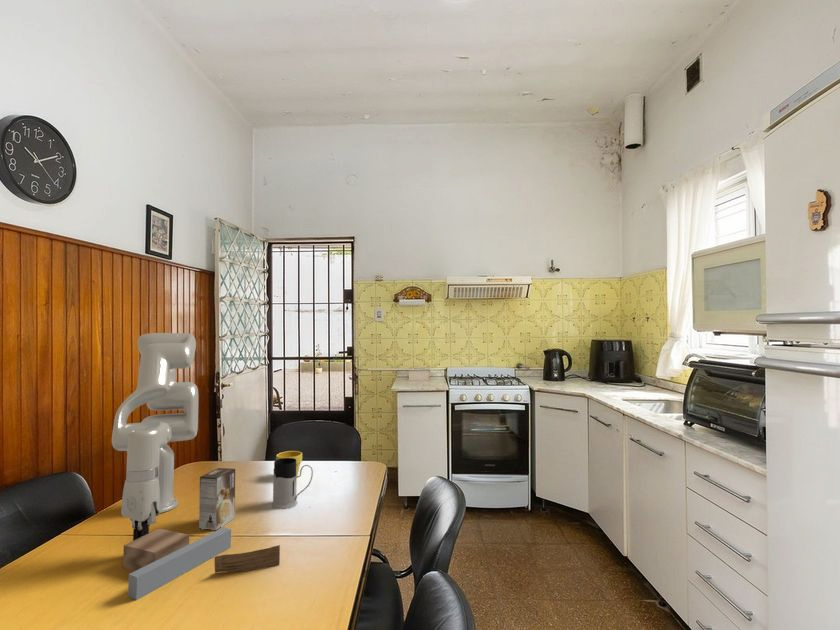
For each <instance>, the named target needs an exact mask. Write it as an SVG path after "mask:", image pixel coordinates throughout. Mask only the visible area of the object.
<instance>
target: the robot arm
mask: <svg viewBox="0 0 840 630" xmlns="http://www.w3.org/2000/svg"><path fill="white" fill-rule="evenodd" d="M137 349H138V351H139V354H140V359H139V368H138V375H137V385H136V389H135V390H134V391H132V393H131V394H130V395H129V396H127V397H126V398H125V399H124V400H123V402H121V404H120V406H119V407H118V409H117V410H116V413H115V416H114V420H113V427H112V435H111V445H112V447H113V449H114V450H115V451H119V452H126V473H125V474H126V475H125V476H126V477H125V478H126V479H125V481H124V485H123V489H122V499H121V507H120V509H121V510H120V511H121V516H123V517H124V518H127V519H129V520H130V521H131V528H132V529H133V531H132V541H134V540H136V539H138V538H140V537H142V536H144V535H146V534H149V533H150V527H151V526H152V525H153V524H155V523H157V517H158V516H159V515H160V514H163V513H165V512H168V511H171V510H173V509H175V508H176V507H177V506H178V505H179V504H178V503H179V500H178V498H175V497H174V480H175V479H174V474H175V473H174V471H175V453H174V450H173V449H172V448H171V447H170V445H168V443H172V442H174V443H175V442H183V441H190V440H193V439H195V438H196V437H197V434H198V431H199V389H198V385H196V384H195V383H194V382H192V381H191V382H190V381H182V382H180V381H179V382H177V381H176V370H179V369H181V370H183V369H189V368H191V366H192V365H193V362H194V359H195V355H196V354H195V353H196V349H197V340H196V338H195V336H194V334H192V333H186V332H177V333H176V332H152V333H144V334H142V335H140V336H139V337H138V339H137ZM145 404H146V407H147V408H148V410H150V411H177V410H182V411H183V412H181V413H164V414H153V415H150V416H149V415H148V416H147V417H145V418H144V419H143V420H142V421H141V422H132V423H127V422H128V418H129V416H130V415H131V413H132V412H133V411H135V410H136V409H137V408H139V407H141V406H142V405H145Z"/></svg>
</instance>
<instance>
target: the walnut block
mask: <svg viewBox="0 0 840 630" xmlns="http://www.w3.org/2000/svg"><path fill="white" fill-rule="evenodd" d="M189 544H190V534H186V533H182V532H179V531H173V530H169V529H165V528H164V529H163V528H160V527H159V528H157V529H155V530H153V531H151V532H149V534H146V535H144V536H142V537H140V538H138V539H136V540H134V541H133V540H132V541H130V542H128V543H126V544H123V559H122V561H123V562H122V564H123V565H122V568H123V569H125V570H128V571H132V572H134V571H136V570H138V569H140V568H142V567H144V566H146V565H148V564H150V563H152V562H154V561H156V560H158V559H160V558H162V557H165V556H167V555H169V554H171V553H173V552H175V551H177V550H179V549H181V548H183V547H185V546H187V545H189Z"/></svg>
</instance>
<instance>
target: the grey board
mask: <svg viewBox="0 0 840 630" xmlns="http://www.w3.org/2000/svg"><path fill="white" fill-rule="evenodd" d="M230 547H231V548H232V529H231V528H228V527H225V526H222V527H221V528H220V529H218V530H217V531H213V532H211V533H208V534H207V535H205V536H203V537H200V538H199V539H197V540H195V541H193V542H191V543H189V545H187V546H185V547H183V548H181V549H179V550H177V551H175V552H173V553H171V554H169V555H167V556H165V557H162V558H160V559H158V560H156V561H154V562H152V563H150V564H148V565H146V566H144V567H142V568H140V569H138V570H136V571H132V572H131V573H128V584H127V586H128V588H127V589H128V592H127V597H128V598H131V599H133V600H135V601H137V600H139V599H141V598H143V597H145V596H147V595H148V594H150V593H152V592H153V591H156V590H157V589H159V588H161V587H162V586H165V585H167V584H168V583H170V582H172V581H173V580H175V579H177V578H179V577H180V576H183V575H184V574H186V573H188V572H189V571H191V570H193V569H194V568H196V567H198V566H201V565H202V564H204V563H205V562H207V561H209V560H211V559H212V558H215V557H216V556H219V555H221V553H224V552H225V551H227V550H229V549H230ZM228 548H229V549H228ZM214 556H215V557H214Z"/></svg>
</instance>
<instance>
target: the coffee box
mask: <svg viewBox="0 0 840 630" xmlns="http://www.w3.org/2000/svg"><path fill="white" fill-rule="evenodd" d="M198 504H199V505H198V506H199V508H198V509H199V511H198V512H199V513H198V514H199V515H198V529H199V528H201V529H200V530H204V529H211V530H210V531H214V530H217V529H218V530H219V528H220V527H221V528H223V527H225V525H226V524H228V523H230V522H231V521H232V520H234V519H235V517H236V516H235V515H236V514H235V513H236V468H227V467H217V468H216V469H213V470H211V471H209V472H207V473H205V474H203V475H200V476H199V503H198ZM221 528H220V529H221Z"/></svg>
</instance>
